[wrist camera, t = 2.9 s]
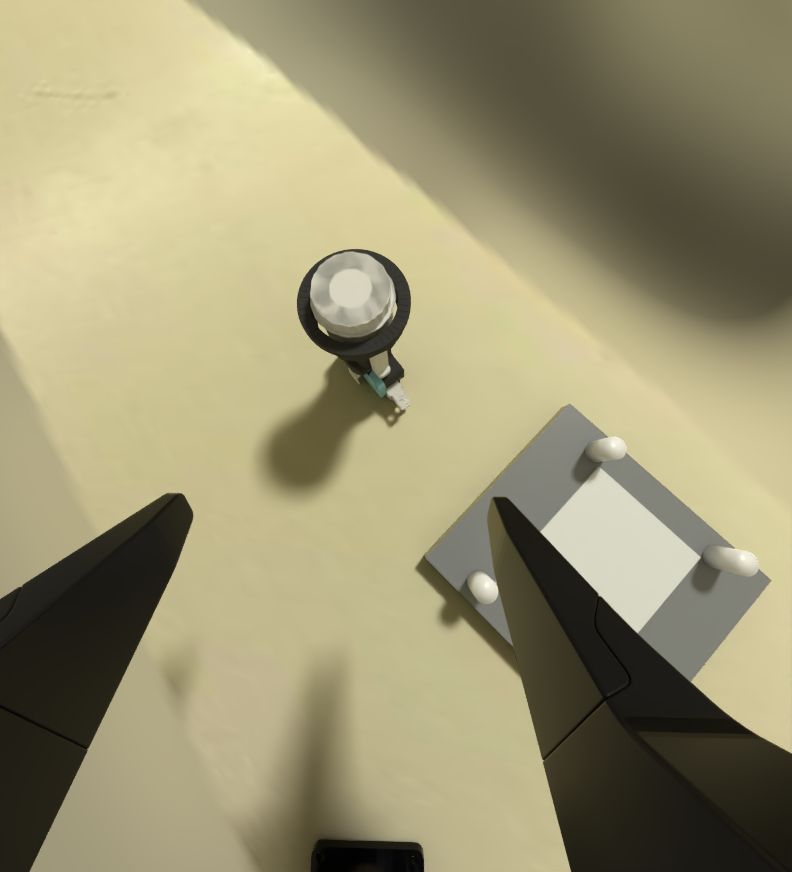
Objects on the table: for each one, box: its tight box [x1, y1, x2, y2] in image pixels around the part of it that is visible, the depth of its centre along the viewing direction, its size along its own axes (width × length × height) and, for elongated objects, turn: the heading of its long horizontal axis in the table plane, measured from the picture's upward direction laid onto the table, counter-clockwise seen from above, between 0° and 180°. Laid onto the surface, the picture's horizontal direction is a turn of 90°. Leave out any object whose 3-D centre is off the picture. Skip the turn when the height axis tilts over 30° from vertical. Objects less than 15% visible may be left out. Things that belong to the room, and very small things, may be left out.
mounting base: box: [424, 404, 771, 682], centre depth 21 cm, size 14×16×3 cm
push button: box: [297, 249, 411, 410], centre depth 20 cm, size 7×5×10 cm
